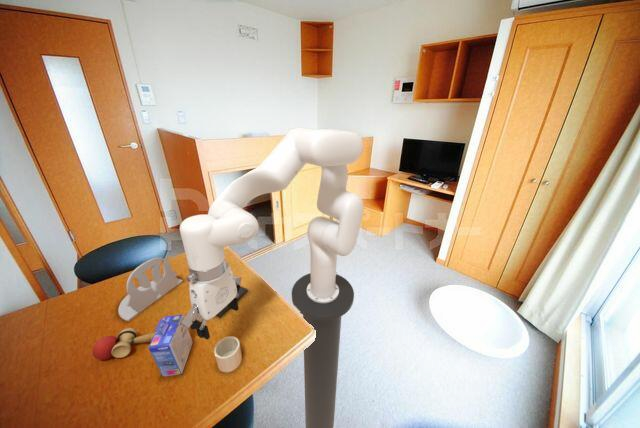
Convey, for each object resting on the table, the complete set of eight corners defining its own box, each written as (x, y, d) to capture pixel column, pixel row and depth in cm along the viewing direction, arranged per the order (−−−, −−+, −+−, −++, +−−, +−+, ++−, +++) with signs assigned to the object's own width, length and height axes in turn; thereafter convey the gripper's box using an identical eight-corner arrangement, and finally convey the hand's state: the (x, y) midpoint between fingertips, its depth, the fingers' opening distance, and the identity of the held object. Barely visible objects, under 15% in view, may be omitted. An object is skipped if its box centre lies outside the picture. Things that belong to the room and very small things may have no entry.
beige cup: (229, 346, 72) (226, 332, 70) (246, 355, 70) (244, 341, 67) (212, 366, 67) (208, 352, 64) (230, 376, 64) (227, 362, 62)
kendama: (170, 328, 79) (100, 342, 72) (168, 316, 76) (94, 330, 68) (168, 351, 73) (91, 369, 66) (165, 339, 70) (84, 357, 62)
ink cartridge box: (174, 344, 73) (161, 309, 67) (193, 341, 74) (182, 307, 67) (160, 377, 64) (144, 341, 58) (182, 374, 65) (168, 338, 59)
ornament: (128, 321, 80) (110, 283, 73) (103, 310, 84) (84, 272, 77) (184, 280, 99) (174, 246, 91) (161, 273, 103) (150, 239, 96)
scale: (224, 282, 98) (223, 276, 97) (248, 291, 93) (247, 286, 92) (195, 306, 86) (193, 300, 85) (220, 319, 81) (219, 312, 80)
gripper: (186, 297, 46) (202, 356, 53) (247, 252, 60) (253, 303, 67) (160, 285, 49) (179, 343, 56) (224, 245, 63) (233, 295, 70)
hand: (219, 321), depth 61 cm, fingers open, 9 cm apart
